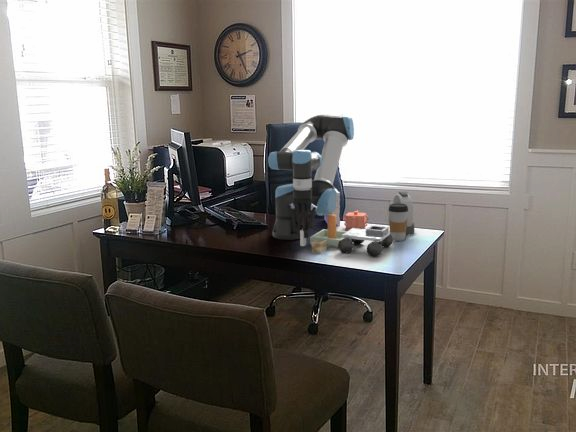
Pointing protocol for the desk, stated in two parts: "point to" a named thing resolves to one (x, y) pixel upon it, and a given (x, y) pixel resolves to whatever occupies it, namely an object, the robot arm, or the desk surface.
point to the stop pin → (332, 226)
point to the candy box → (335, 210)
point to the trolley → (373, 233)
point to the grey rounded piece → (406, 199)
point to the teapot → (355, 220)
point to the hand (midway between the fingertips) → (303, 245)
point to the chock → (319, 246)
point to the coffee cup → (398, 221)
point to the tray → (324, 236)
